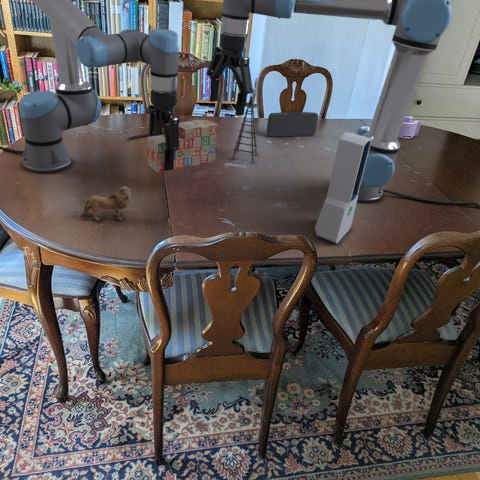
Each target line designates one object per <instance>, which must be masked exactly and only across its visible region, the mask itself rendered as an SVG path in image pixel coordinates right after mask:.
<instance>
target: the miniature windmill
mask: <svg viewBox="0 0 480 480" xmlns="http://www.w3.org/2000/svg"><path fill="white" fill-rule="evenodd" d="M258 81H259V80H258V77H255V80H254V82H253V83H254V84H253V87H254V88H253V93H250V96H249V100H248V102H247V101H246V105H245V108H246V110H245V111H244V115H243V118H242V119H243V121H242V123H241V127H240V129H239V134H238V136H237V140H236V142H235V146H234V147H235V148H233V154H232V157H231V159H232V160H234V159H235V156H236V152H237V153H238V152H245V153H249V154H251V163H254V162H255V161H254V160H255V159H254V155H255V156H258V148H257V147H258V145H257V136H256V135H257V133H256V125H255V124H256V121H255V111H254V109H256V108H257V107H259V104H258V103H255V101H256V97H257V88H258V87H257V86H258ZM243 90H244V89H243ZM248 115H250V119H251V120H247V116H248ZM246 123H250V124H246ZM246 126H247V127H251V129H250V131H246V130H244V128H245V127H246ZM243 133H246V134H251V137H249V136H245V135H243ZM242 138H244V139H250V140H251V144H250V143H244V142H242V141H241V140H242ZM240 145H245V146H251V151H250V150H243V149H239V148H240Z"/></svg>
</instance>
